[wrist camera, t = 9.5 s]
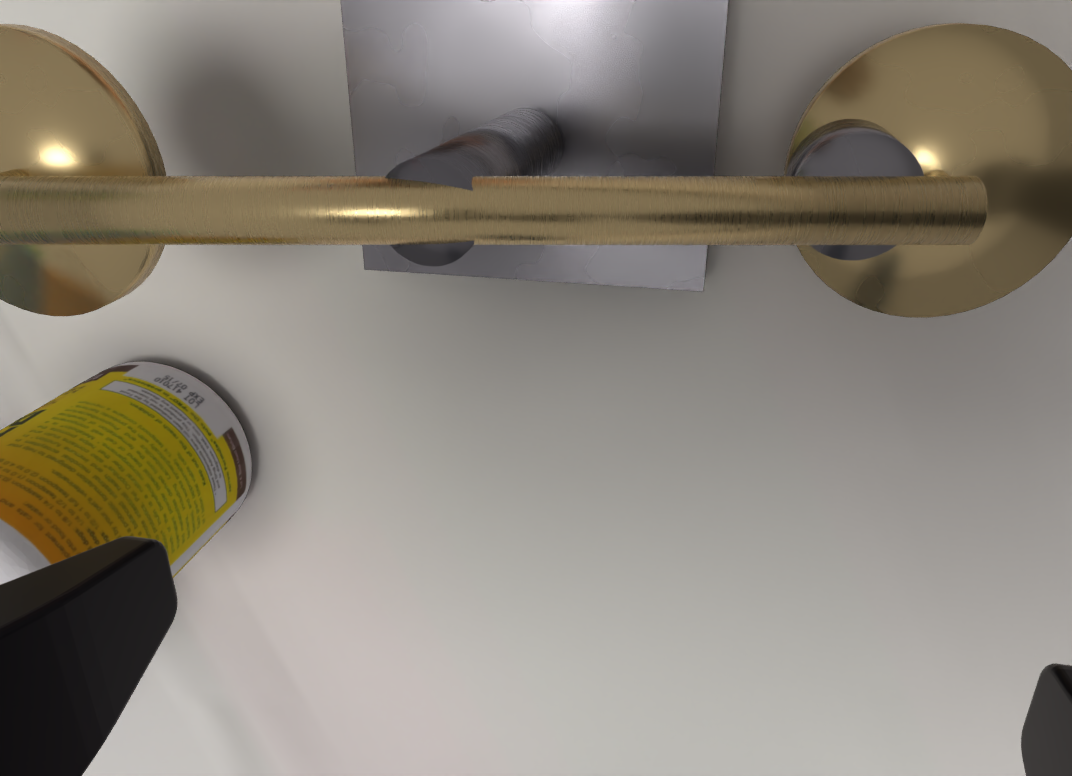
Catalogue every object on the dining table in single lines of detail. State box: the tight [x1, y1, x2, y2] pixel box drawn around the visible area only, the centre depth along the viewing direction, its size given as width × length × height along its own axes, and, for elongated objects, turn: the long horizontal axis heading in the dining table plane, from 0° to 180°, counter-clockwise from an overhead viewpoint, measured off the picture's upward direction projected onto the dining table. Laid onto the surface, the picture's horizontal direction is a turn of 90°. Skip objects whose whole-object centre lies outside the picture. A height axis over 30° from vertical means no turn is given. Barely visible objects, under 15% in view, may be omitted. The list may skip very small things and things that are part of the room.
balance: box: [0, 0, 1072, 317], centre depth 15 cm, size 21×6×10 cm, turn 90°
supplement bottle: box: [0, 362, 252, 585], centre depth 20 cm, size 6×6×10 cm
